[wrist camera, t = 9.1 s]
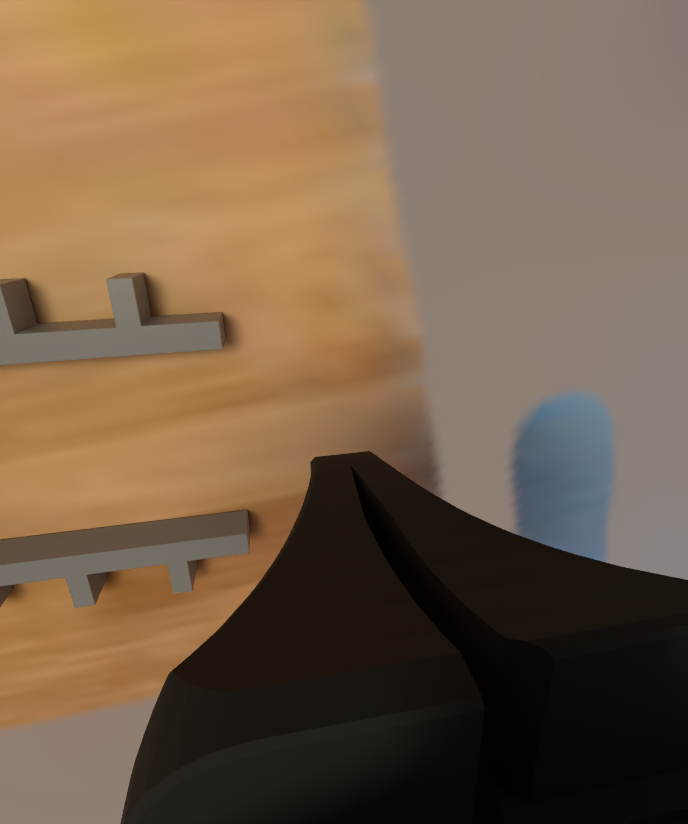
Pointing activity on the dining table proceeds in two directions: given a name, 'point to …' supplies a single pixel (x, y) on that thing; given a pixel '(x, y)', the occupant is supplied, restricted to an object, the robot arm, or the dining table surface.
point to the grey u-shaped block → (125, 544)
